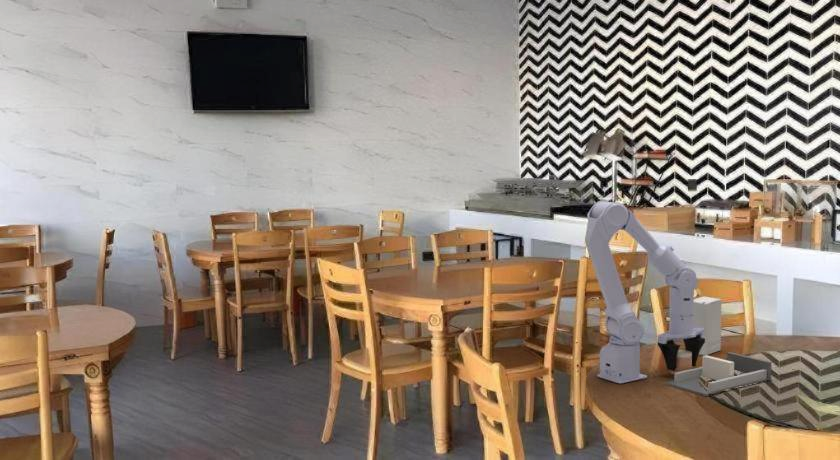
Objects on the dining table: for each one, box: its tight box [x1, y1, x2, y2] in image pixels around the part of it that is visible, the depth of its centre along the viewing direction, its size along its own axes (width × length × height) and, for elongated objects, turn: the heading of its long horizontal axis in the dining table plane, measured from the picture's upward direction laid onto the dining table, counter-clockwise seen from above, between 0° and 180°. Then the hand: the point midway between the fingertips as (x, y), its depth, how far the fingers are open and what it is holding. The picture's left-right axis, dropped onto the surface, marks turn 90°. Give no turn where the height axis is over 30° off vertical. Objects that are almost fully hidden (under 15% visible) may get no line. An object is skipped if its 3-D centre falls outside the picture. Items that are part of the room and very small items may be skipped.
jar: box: [670, 349, 693, 376], centre depth 200 cm, size 5×5×6 cm
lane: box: [664, 351, 772, 397], centre depth 191 cm, size 24×12×4 cm, turn 120°
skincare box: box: [693, 296, 722, 356], centre depth 220 cm, size 8×6×15 cm
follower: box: [701, 355, 734, 380], centre depth 191 cm, size 2×8×5 cm, turn 30°
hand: (681, 367), depth 200 cm, fingers open, 7 cm apart
